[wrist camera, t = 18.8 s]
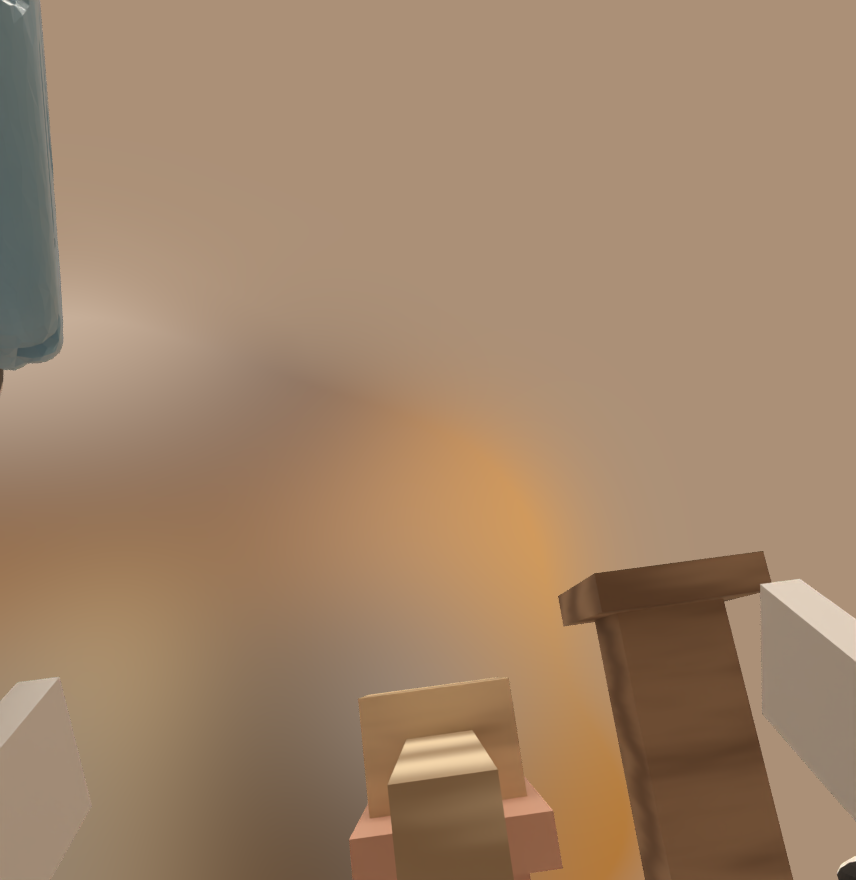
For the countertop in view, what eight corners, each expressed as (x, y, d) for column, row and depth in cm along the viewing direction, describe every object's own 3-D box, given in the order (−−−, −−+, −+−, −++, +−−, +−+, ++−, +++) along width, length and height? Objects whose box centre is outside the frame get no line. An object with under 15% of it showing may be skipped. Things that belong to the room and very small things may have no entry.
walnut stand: (656, 1141, 40) (558, 596, 49) (815, 1116, 41) (687, 578, 50) (743, 1326, 29) (594, 573, 38) (963, 1291, 29) (763, 551, 38)
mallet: (379, 796, 38) (369, 694, 39) (513, 777, 38) (498, 677, 39) (322, 923, 19) (307, 716, 20) (592, 884, 19) (557, 682, 20)
